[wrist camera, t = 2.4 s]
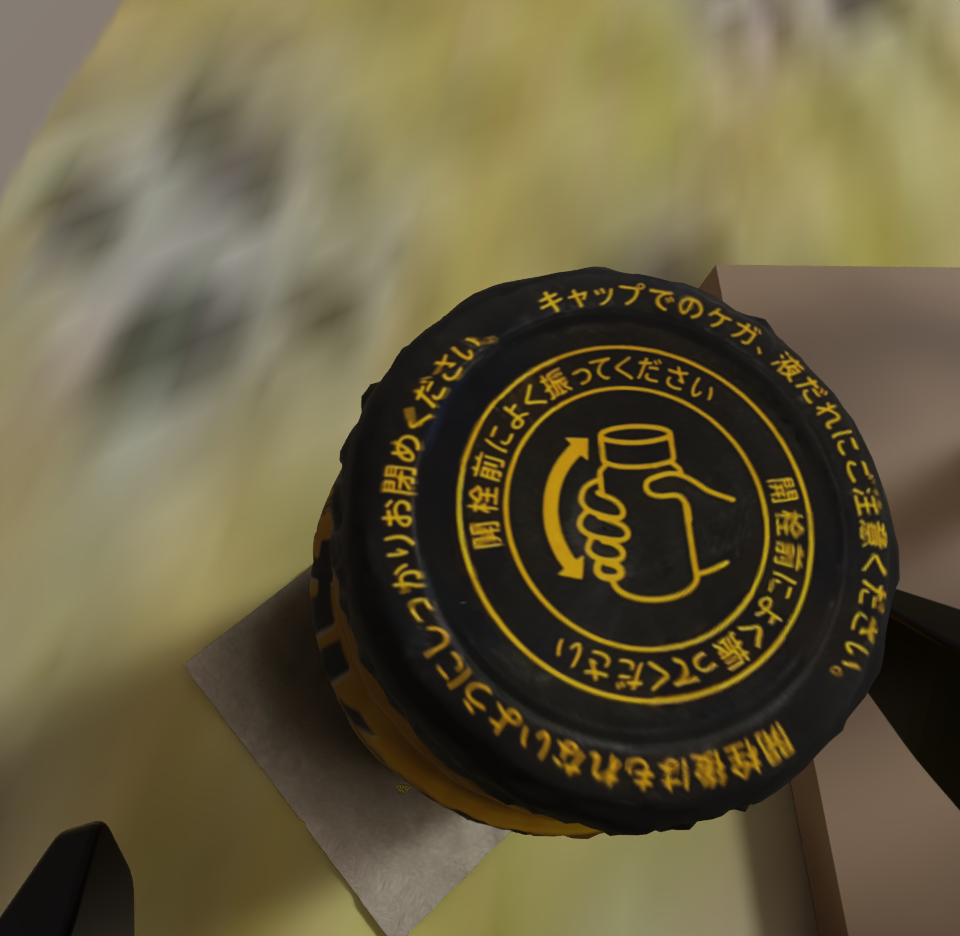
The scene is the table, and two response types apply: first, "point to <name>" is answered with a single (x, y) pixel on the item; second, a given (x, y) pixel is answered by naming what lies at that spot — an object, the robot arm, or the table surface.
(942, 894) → the locating plate
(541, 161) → the table surface
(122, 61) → the table surface
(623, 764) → the condiment
